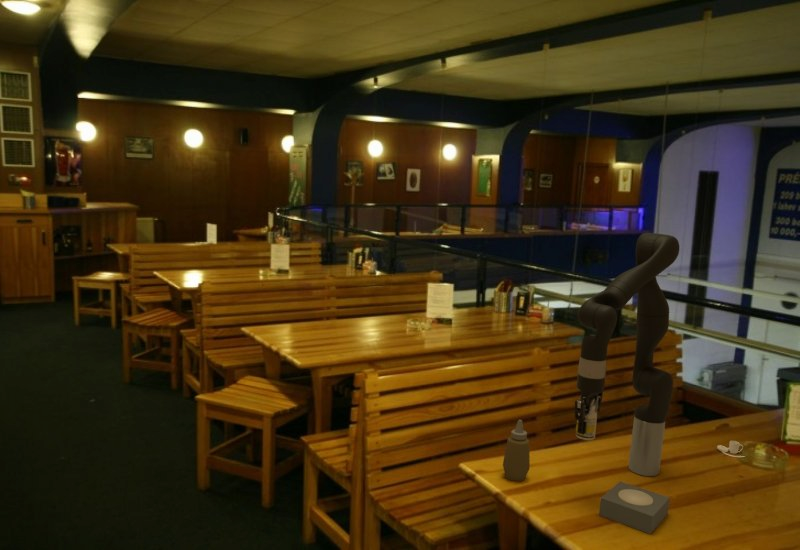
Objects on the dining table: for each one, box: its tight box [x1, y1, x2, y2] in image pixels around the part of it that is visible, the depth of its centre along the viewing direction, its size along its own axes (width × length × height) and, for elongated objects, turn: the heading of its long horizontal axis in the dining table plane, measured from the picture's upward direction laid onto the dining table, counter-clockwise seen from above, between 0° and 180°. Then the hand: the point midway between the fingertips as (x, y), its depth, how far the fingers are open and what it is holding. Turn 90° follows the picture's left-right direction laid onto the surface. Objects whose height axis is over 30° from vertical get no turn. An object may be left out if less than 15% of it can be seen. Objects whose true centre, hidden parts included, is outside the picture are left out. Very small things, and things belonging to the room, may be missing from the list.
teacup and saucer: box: [716, 440, 746, 458], centre depth 235 cm, size 9×8×4 cm
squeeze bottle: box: [502, 419, 531, 482], centre depth 206 cm, size 8×8×18 cm
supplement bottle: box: [575, 404, 598, 441], centre depth 195 cm, size 5×5×10 cm
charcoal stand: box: [598, 480, 671, 535], centre depth 188 cm, size 14×14×5 cm
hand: (585, 430), depth 196 cm, fingers closed on supplement bottle, 5 cm apart
